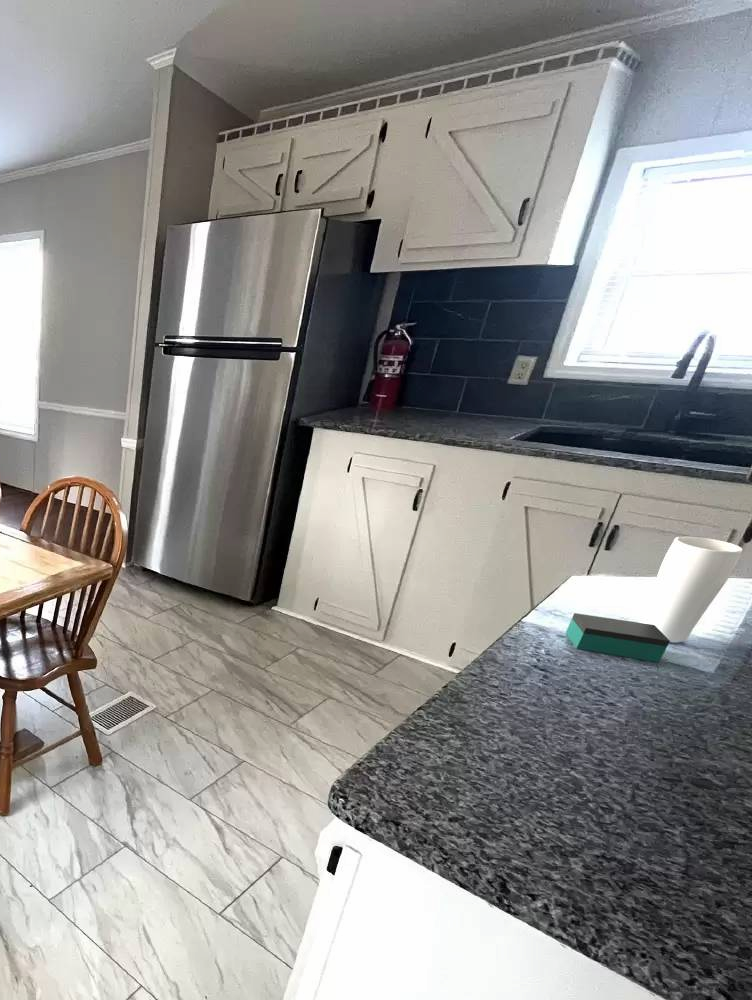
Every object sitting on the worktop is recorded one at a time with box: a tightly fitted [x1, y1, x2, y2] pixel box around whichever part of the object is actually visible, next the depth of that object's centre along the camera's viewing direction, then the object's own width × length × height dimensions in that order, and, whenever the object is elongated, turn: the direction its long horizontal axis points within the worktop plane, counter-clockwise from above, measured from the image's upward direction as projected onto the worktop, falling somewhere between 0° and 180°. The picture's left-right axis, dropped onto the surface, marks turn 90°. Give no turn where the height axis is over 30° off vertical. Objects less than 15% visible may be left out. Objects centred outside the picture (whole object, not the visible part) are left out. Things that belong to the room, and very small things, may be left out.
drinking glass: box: [639, 535, 744, 644], centre depth 93 cm, size 7×7×15 cm
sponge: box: [565, 612, 671, 663], centre depth 93 cm, size 9×6×4 cm, turn 62°
